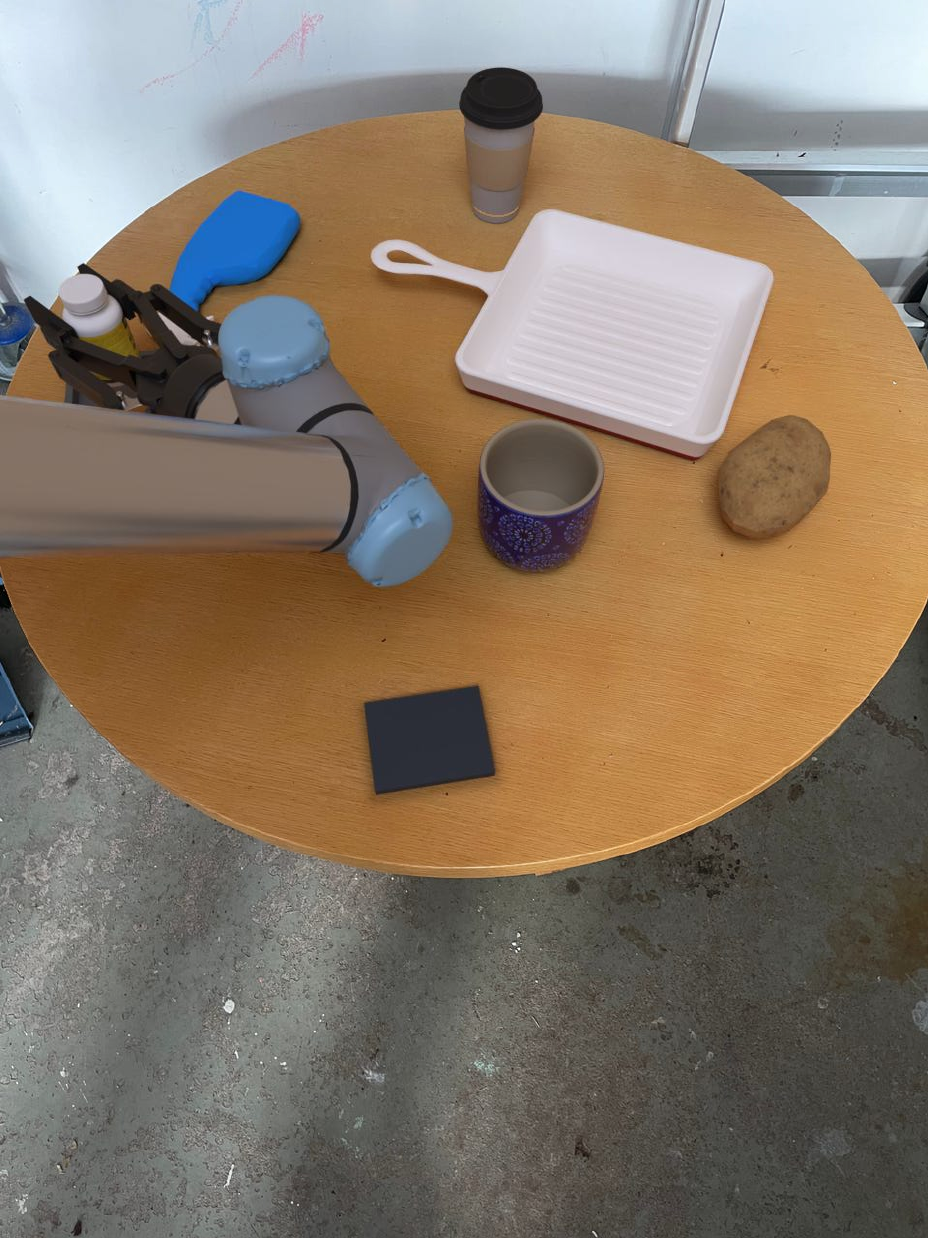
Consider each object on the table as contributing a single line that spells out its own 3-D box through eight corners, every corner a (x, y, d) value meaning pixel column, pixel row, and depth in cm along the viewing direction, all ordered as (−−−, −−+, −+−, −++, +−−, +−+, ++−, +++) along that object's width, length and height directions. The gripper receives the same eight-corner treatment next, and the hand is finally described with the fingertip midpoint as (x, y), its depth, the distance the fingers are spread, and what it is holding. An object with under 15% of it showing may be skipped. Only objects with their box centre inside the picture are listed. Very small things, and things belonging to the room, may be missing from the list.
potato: (680, 531, 85) (700, 479, 78) (745, 442, 90) (769, 386, 84) (770, 581, 82) (800, 532, 75) (832, 486, 88) (864, 432, 81)
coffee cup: (464, 182, 111) (465, 59, 98) (537, 189, 111) (548, 66, 98) (453, 229, 107) (453, 107, 94) (529, 236, 106) (540, 115, 93)
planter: (599, 579, 82) (619, 507, 72) (485, 593, 81) (490, 523, 71) (574, 488, 87) (589, 410, 78) (467, 500, 86) (469, 423, 77)
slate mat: (375, 795, 71) (375, 791, 71) (364, 707, 75) (363, 702, 74) (494, 776, 72) (495, 771, 71) (478, 689, 76) (478, 685, 75)
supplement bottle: (154, 371, 87) (122, 290, 78) (106, 397, 85) (67, 317, 76) (126, 341, 88) (91, 259, 80) (78, 366, 87) (38, 285, 78)
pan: (706, 477, 88) (718, 446, 84) (321, 359, 96) (315, 325, 92) (765, 299, 101) (778, 265, 97) (422, 208, 109) (421, 172, 105)
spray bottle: (227, 184, 106) (115, 315, 95) (307, 206, 104) (202, 342, 93) (233, 205, 109) (125, 335, 98) (311, 227, 107) (209, 363, 96)
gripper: (153, 502, 75) (-6, 374, 82) (305, 385, 82) (147, 276, 89) (125, 445, 69) (-45, 311, 76) (293, 322, 76) (123, 211, 83)
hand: (59, 292), depth 83 cm, fingers closed on supplement bottle, 5 cm apart
